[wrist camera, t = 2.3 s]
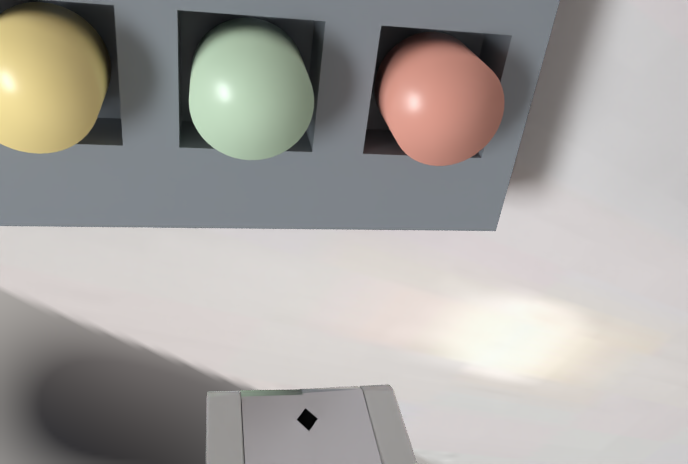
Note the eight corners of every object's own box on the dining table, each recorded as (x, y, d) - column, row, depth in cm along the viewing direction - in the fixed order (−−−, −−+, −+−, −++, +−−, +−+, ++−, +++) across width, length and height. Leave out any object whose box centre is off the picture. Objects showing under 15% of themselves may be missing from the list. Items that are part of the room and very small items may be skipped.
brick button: (487, 35, 25) (517, 59, 23) (464, 135, 28) (489, 167, 25) (382, 27, 25) (401, 52, 22) (367, 131, 27) (383, 164, 24)
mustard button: (107, 6, 23) (94, 31, 20) (114, 120, 25) (104, 155, 22) (-27, -4, 22) (-58, 21, 19) (-7, 116, 24) (-32, 151, 21)
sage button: (308, 22, 24) (319, 46, 22) (299, 128, 26) (308, 161, 24) (190, 13, 23) (188, 37, 21) (191, 124, 25) (189, 158, 23)
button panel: (536, -78, 26) (577, -63, 23) (469, 192, 32) (495, 230, 29) (-92, -150, 21) (-141, -143, 18) (-27, 181, 27) (-55, 225, 25)
